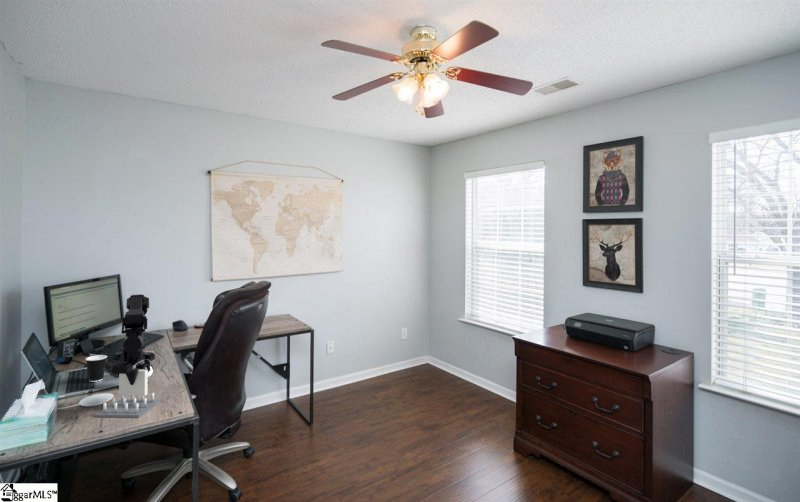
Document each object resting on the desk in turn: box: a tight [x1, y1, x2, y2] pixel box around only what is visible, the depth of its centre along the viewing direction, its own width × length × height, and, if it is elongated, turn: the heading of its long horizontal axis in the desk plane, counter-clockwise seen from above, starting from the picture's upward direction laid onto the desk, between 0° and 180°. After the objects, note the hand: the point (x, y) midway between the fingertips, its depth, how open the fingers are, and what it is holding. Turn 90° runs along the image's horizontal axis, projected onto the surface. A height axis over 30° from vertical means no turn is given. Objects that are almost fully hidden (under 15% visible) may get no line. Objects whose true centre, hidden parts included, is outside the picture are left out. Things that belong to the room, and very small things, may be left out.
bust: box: [148, 364, 154, 378], centre depth 191 cm, size 12×8×11 cm
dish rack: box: [95, 392, 162, 419], centre depth 155 cm, size 14×16×4 cm
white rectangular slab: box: [118, 370, 149, 397], centre depth 158 cm, size 2×10×10 cm, turn 91°
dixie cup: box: [85, 354, 108, 383], centre depth 183 cm, size 8×8×11 cm
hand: (133, 383), depth 158 cm, fingers closed on white rectangular slab, 2 cm apart
